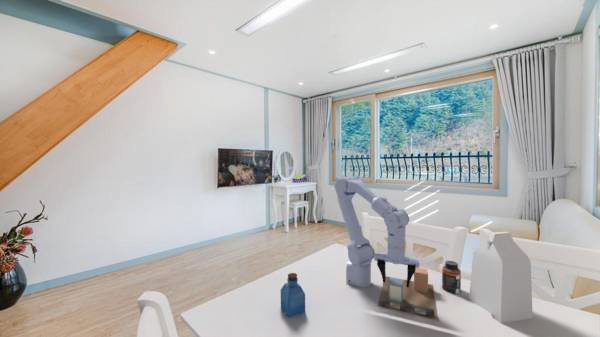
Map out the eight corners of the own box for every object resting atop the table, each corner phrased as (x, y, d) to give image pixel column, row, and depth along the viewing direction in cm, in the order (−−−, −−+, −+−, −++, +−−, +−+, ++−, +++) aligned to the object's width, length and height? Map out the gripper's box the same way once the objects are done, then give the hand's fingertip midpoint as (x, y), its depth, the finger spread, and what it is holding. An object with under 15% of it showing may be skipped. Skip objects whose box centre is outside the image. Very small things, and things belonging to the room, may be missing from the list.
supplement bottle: (463, 297, 90) (464, 266, 89) (445, 295, 91) (445, 265, 90) (456, 288, 95) (456, 259, 95) (439, 287, 97) (440, 258, 96)
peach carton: (414, 290, 93) (414, 272, 92) (414, 284, 97) (414, 267, 97) (428, 293, 91) (428, 274, 91) (427, 287, 95) (427, 269, 95)
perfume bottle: (288, 317, 79) (287, 281, 79) (280, 307, 85) (280, 273, 84) (305, 312, 82) (304, 276, 82) (296, 302, 88) (296, 269, 87)
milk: (497, 298, 89) (499, 226, 88) (532, 318, 78) (535, 236, 77) (468, 301, 87) (470, 228, 86) (500, 323, 76) (502, 239, 74)
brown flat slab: (377, 308, 83) (377, 300, 83) (384, 278, 104) (384, 271, 104) (438, 323, 76) (438, 313, 76) (432, 287, 97) (433, 279, 96)
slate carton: (389, 295, 89) (389, 277, 89) (403, 298, 87) (403, 279, 87) (388, 302, 85) (388, 283, 85) (402, 306, 83) (402, 285, 83)
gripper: (373, 246, 85) (372, 284, 86) (419, 252, 79) (419, 293, 80) (375, 239, 91) (375, 275, 92) (419, 245, 85) (418, 283, 86)
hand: (395, 283), depth 86 cm, fingers open, 7 cm apart
